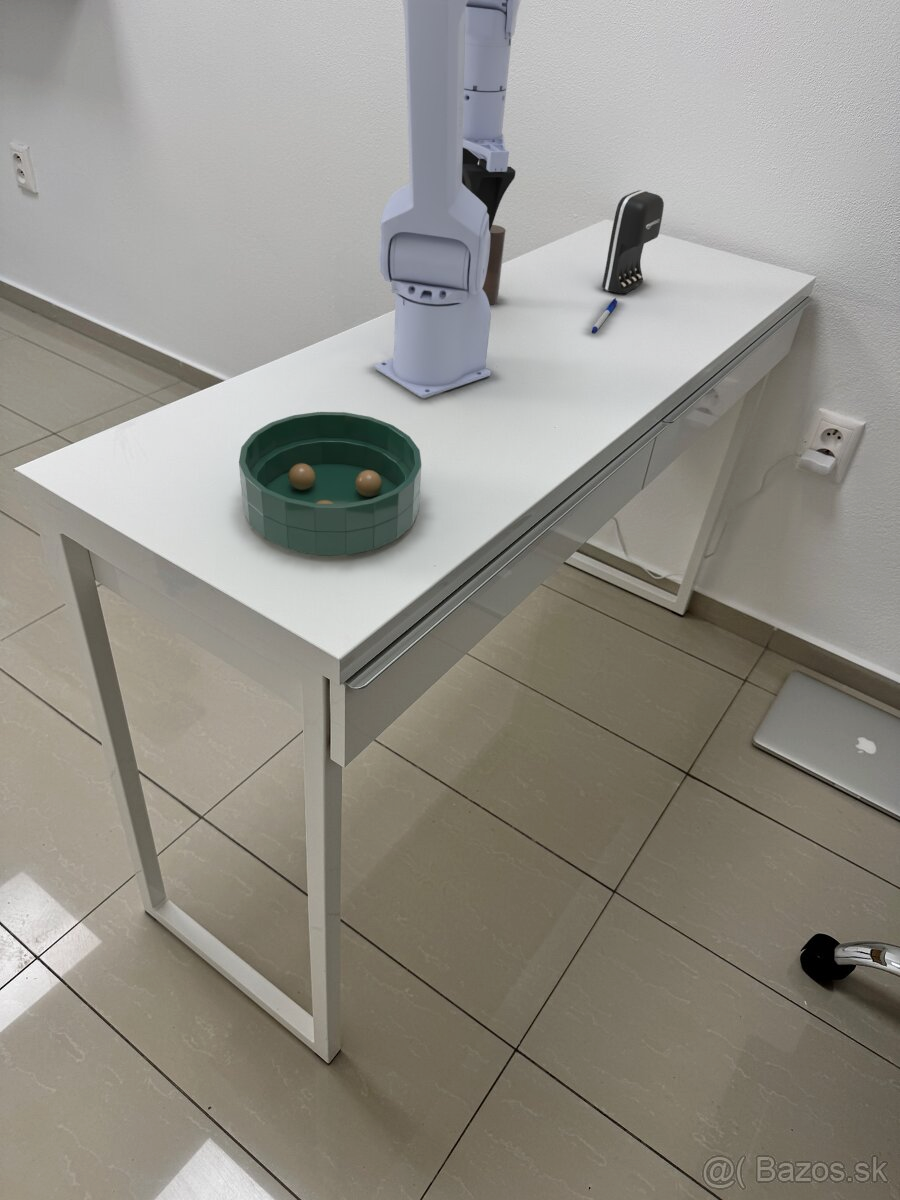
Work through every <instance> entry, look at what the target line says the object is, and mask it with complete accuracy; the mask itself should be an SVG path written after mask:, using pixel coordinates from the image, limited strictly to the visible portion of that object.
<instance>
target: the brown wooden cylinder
mask: <svg viewBox="0 0 900 1200" xmlns="http://www.w3.org/2000/svg"><path fill="white" fill-rule="evenodd" d="M506 230H507V229H506V228H505V227H503V226H501V225H496V224H492V227H491V230H490V252H489V260H488V267H487V273H486V278H485V282H484V285H483V288H482V289H483V291H484V292H485V294H486V296H487V298H488V301H489V305H490V306H493V305H496V304H497V303H498V301H499V294H500V284H501V277H502V268H503V267H502V266H503V256H504V249H505V238H506Z"/></svg>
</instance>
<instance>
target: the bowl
mask: <svg viewBox="0 0 900 1200" xmlns="http://www.w3.org/2000/svg"><path fill="white" fill-rule="evenodd" d="M300 463H303V464H307V465H309V466H310V467H311V468H312V469H313V470H314V472H315V482H314V484H313V486H312V487H311V488H309V489H307V490H297V489H295V488H294V487H293V486H292V485H291V484H290V482H289V479H288V474H289V471H290V469H291V468H292V467H293V466H294V465H296V464H300ZM238 468H239V469H238V470H239V478H240V489H241V498H242V499H241V500H242V509H243V512H244V514H245V516H246V519H247V522H248V524H249V526H250V527H251V528H253V529H254V530H255V531H256V532H257V534H259V535H261V537H263V539H265V540H267V541H269V542H271V543H273V544H275V545H277V546H280V547H281V548H284V549H286V550H290V551H295V552H298V553H303V554H307V555H312V556H313V555H314V556H323V557H341V556H343V557H344V556H351V555H356V554H362V553H366V552H368V551H373V550H376V549H378V548H380V547H382V546H385V545H387V544H390V543H392V542H394V541H396V540H397V539H399V538H400V537H401V536H402V535H404V534H405V533H406V532H407V531H408V530H409V529H410V528H411V527H412V526H413V524H414V521H415V520H416V518H417V515H418V513H419V509H420V495H421V479H422V477H421V476H422V459H421V451H420V449H419V447H418V446H417V444H416V443H415V442H414V440H413V439H412V438H411V436H410V435H408V434H406V432H404V431H402V430H401V429H399V427H396V426H395V425H393V424H391V423H388V422H385V421H382V420H380V419H378V418H374V417H372V416H367V415H362V414H357V413H352V412H345V411H314V412H307V413H301V414H299V413H298V414H294V415H290V416H286V417H284V418H280V419H278V420H274V421H271V422H269V423H267V424H266V425H264V426H262V427H261V428H259V429H257V430H256V431H254V432H253V433H252V434H251V435H250V436H249V437H248V439H247V440H246V441H245V442H244V443H243V445H242V446H241V447H240V453H239V459H238ZM365 470H372V471H375V472H376V473H378V474H379V476H380V477H381V480H382V488H381V490H380V492H379V493H378V494H377V495H375V496H373V497H365V496H363V495H361V494H360V493H359V492H358V491H357V489H356V486H355V481H356V478H357V476H358V475H359V474H360V473H361V472H363V471H365ZM321 500H328V501H331V502H333V503H334V504H315V503H317V502H319V501H321Z"/></svg>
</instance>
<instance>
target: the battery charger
mask: <svg viewBox="0 0 900 1200" xmlns="http://www.w3.org/2000/svg"><path fill="white" fill-rule="evenodd" d="M664 206H665V203H664V199H663V198H662V196H661V195H659V194H657V193H652V192H650V191H648V190H645V189H642V190H641V189H640V190H639V189H638V190H636V191H633V192H631V193H628V194H626V195H624V196H623V197H622V198H621V199H620V200H619V202H618V203H617V207H616V209H615V215H614V220H613V224H612V229H611V233H610V234H611V235H610V240H609V244H608V245H609V246H608V250H607V257H606V264H605V269H604V274H603V279H602V284H601V288H602V289H604V290H605V291H607V292H612V293H617V294H626V293H629V292H630V291H632V290H634V289H635V288H637V287H639V286H641V285H642V284H643V282H644V278H643V273H642V268H641V259H642V254H643V250H644V246H645V244H647V243H649V242H651V241H653V240H655V239H657V238H658V236H659V234H660V230H661V225H662V219H663V214H664Z"/></svg>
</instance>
